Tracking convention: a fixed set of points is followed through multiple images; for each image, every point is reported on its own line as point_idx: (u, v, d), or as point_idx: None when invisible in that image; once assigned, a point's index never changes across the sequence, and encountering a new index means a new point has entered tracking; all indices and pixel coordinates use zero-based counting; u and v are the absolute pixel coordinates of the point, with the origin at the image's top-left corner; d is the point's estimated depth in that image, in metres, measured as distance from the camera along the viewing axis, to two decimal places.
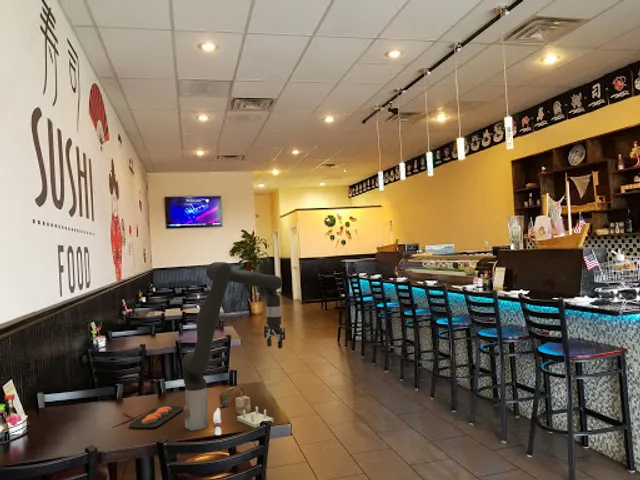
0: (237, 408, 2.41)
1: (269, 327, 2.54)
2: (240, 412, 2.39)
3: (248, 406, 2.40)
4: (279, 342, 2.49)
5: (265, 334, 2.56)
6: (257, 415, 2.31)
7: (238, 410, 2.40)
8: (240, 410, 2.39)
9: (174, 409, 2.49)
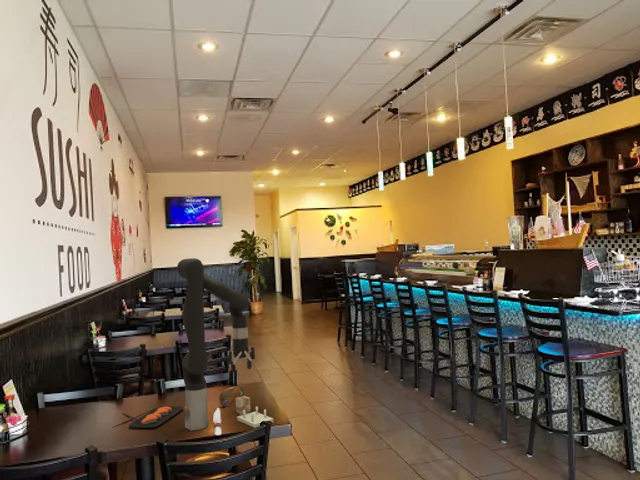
0: (237, 408, 2.41)
1: (237, 350, 2.40)
2: (240, 412, 2.39)
3: (248, 406, 2.40)
4: (250, 362, 2.44)
5: (231, 360, 2.37)
6: (257, 415, 2.31)
7: (238, 410, 2.40)
8: (240, 410, 2.39)
9: (174, 409, 2.49)
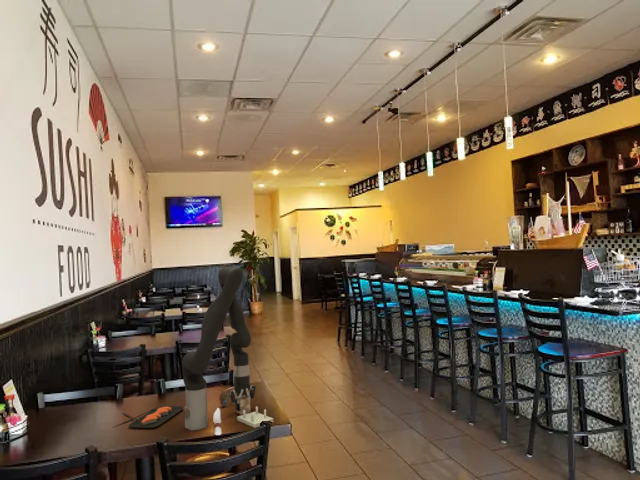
0: None
1: (238, 388, 2.39)
2: (240, 412, 2.38)
3: (248, 406, 2.40)
4: None
5: (235, 399, 2.38)
6: (257, 415, 2.31)
7: None
8: (240, 410, 2.38)
9: (174, 409, 2.49)
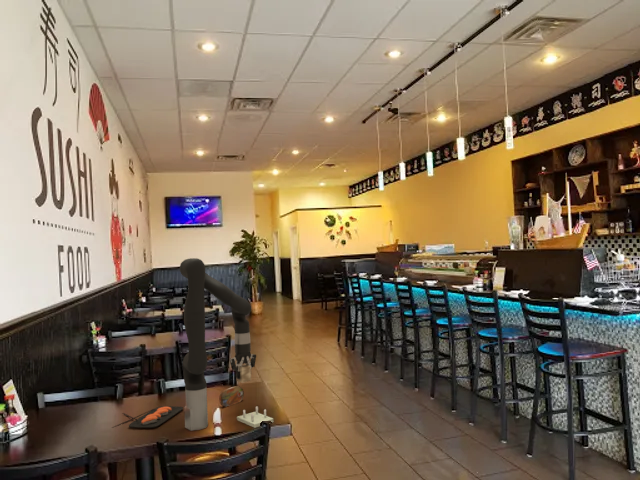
0: None
1: (239, 355, 2.37)
2: (241, 380, 2.36)
3: (249, 374, 2.38)
4: None
5: (236, 366, 2.35)
6: (257, 415, 2.31)
7: None
8: (241, 378, 2.36)
9: (174, 409, 2.49)
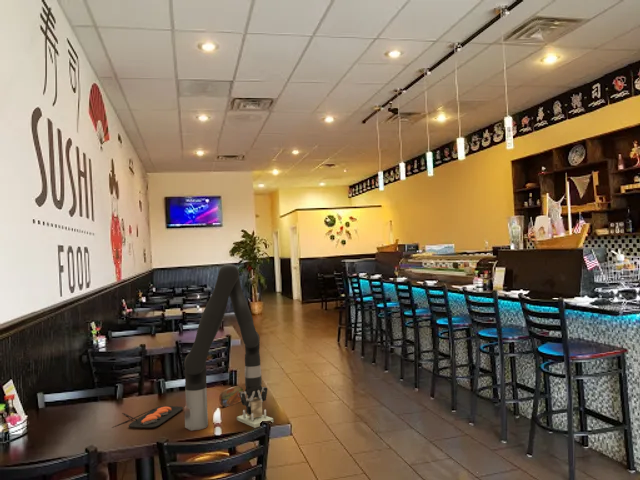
0: None
1: (250, 389, 2.26)
2: None
3: (260, 409, 2.27)
4: None
5: (246, 401, 2.24)
6: None
7: None
8: None
9: (174, 409, 2.49)
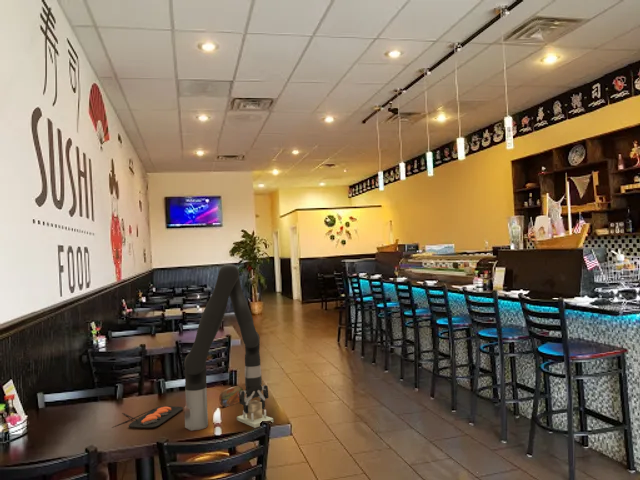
0: (248, 413, 2.27)
1: (250, 390, 2.26)
2: None
3: (260, 411, 2.27)
4: (264, 401, 2.31)
5: (244, 400, 2.24)
6: None
7: (249, 416, 2.26)
8: None
9: (174, 409, 2.49)
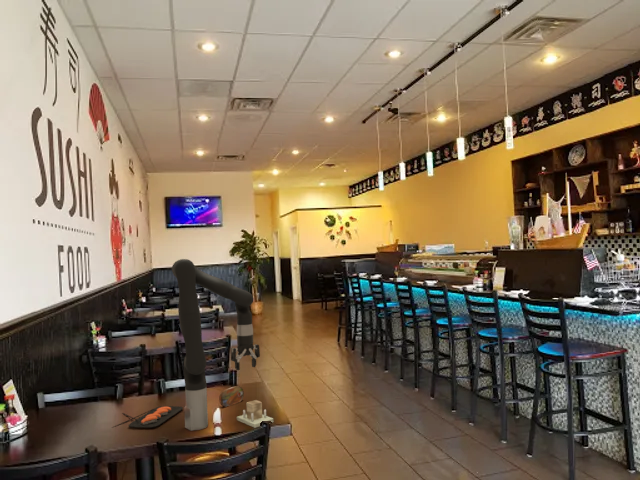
0: (248, 413, 2.27)
1: (242, 348, 2.32)
2: None
3: (260, 411, 2.27)
4: (255, 360, 2.37)
5: (235, 357, 2.30)
6: None
7: (249, 416, 2.26)
8: None
9: (174, 409, 2.49)
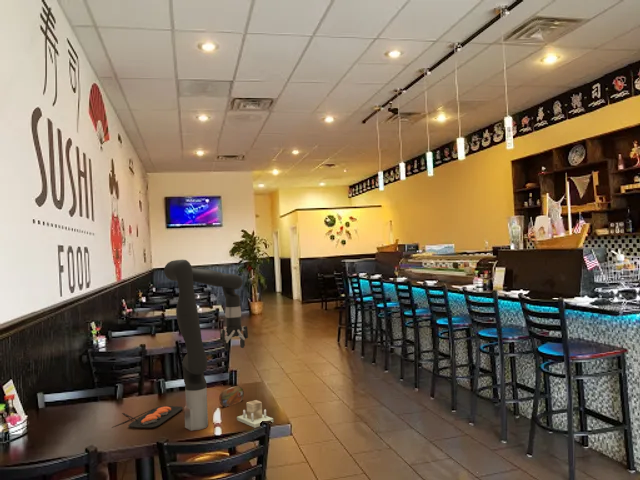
0: (248, 413, 2.27)
1: (230, 329, 2.42)
2: None
3: (260, 411, 2.27)
4: (243, 341, 2.47)
5: (224, 338, 2.40)
6: None
7: (249, 416, 2.26)
8: None
9: (174, 409, 2.49)
